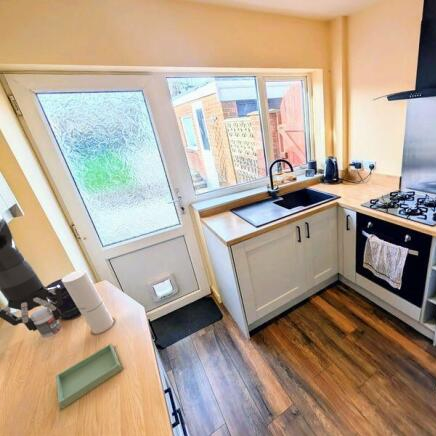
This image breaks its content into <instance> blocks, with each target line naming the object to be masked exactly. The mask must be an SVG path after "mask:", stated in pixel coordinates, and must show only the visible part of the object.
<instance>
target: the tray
mask: <svg viewBox="0 0 436 436" xmlns="http://www.w3.org/2000/svg"><path fill="white" fill-rule="evenodd" d="M122 370H123V368H122V366H121V363H120V360H119V357H118V355H117V352H116V350H115V348H114V346H113V344H112V343H109V344H107V345H105V346H104V347H102V348H100V349H99V350H97V351H94V353H92V354H90V355H88V356H87V357H85V358H83V359H81V360H80V361H78V362H76V363H74V364H73V365H70V366H69V367H68V368H66V369H64V370H63V371H61V372H59V373H58V374H56V375H55V382H56V383H55V384H56V392H57V393H56V394H57V402H58V405H59V406H60V408H62V409H64V408H66V407H67V406H69V405H71V404H72V403H73V402H75V401H77V400H79V398H81V397H83V396H84V395H86V394H88V393H89V392H90V391H92V390H93V389H95V388H97V387H98V386H100V385H101V384H103V383H104V382H106V381H107V380H109V379H110V378H111V377H113V376H115V375H116V374H118V373H119V372H121V371H122Z"/></svg>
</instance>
